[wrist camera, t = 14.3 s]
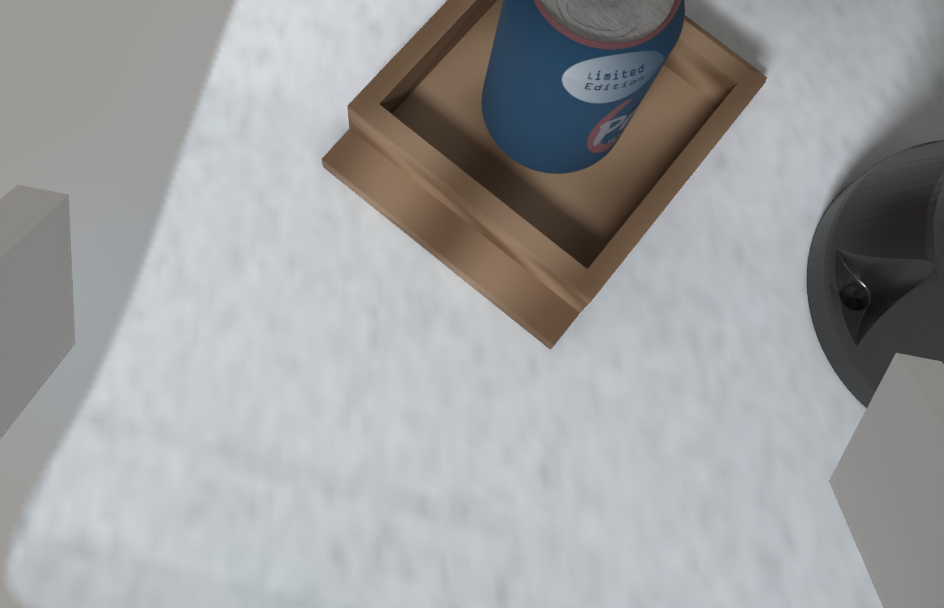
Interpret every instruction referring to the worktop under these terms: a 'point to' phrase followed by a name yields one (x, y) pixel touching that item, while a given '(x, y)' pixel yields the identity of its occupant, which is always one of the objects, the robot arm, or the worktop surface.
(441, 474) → the worktop surface
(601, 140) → the soda can
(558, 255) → the wooden tray
